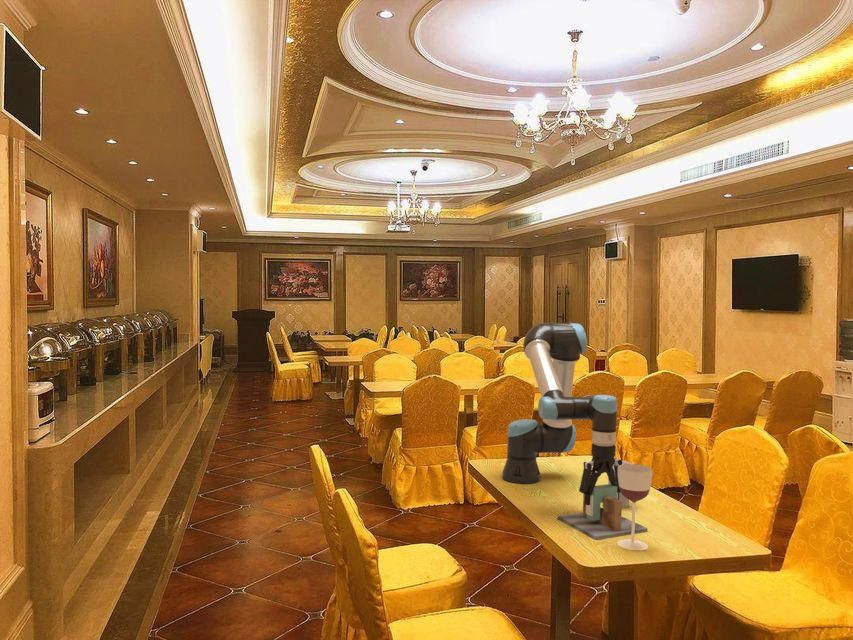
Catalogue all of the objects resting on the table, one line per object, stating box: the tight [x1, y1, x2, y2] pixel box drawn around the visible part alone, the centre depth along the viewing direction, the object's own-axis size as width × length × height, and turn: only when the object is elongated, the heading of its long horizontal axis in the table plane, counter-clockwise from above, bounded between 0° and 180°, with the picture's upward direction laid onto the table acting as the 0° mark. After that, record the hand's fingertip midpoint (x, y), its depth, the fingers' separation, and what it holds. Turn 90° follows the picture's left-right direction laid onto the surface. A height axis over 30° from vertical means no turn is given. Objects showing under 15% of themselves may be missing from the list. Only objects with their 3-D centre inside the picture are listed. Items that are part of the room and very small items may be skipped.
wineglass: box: [617, 463, 654, 551], centre depth 194 cm, size 9×10×23 cm
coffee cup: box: [607, 460, 632, 509], centre depth 231 cm, size 10×10×15 cm
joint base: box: [556, 493, 648, 541], centre depth 211 cm, size 20×20×10 cm
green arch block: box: [587, 483, 617, 521], centre depth 211 cm, size 4×9×10 cm, turn 114°
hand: (601, 512), depth 211 cm, fingers closed on green arch block, 9 cm apart
